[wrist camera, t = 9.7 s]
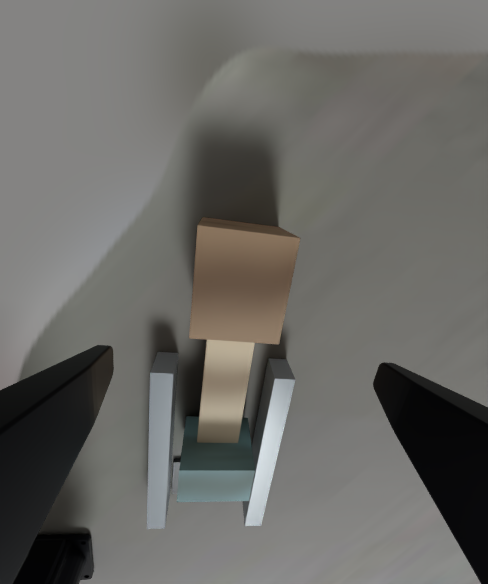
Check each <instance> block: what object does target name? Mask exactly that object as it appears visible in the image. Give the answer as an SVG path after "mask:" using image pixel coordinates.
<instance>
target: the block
mask: <svg viewBox="0 0 488 584" xmlns="http://www.w3.org/2000/svg"><path fill="white" fill-rule="evenodd" d="M299 242H300V238H299V237H297V236H295V235H293V234H291V233H289V232H287V231H286V230H284V229H282V228H280V227H275V226H268V225H260V224H252V223H245V222H237V221H229V220H221V219H214V218H206V217H202V219H201V221H200V222H199V224H198V227H197V240H196V254H195V267H194V280H193V294H192V307H191V321H190V334H189V338H192V339H207V340H221V341H236V342H251V343H265V344H279V341H280V336H281V331H282V326H283V322H284V317H285V312H286V307H287V302H288V297H289V292H290V287H291V282H292V277H293V272H294V267H295V262H296V257H297V252H298V247H299Z"/></svg>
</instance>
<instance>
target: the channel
mask: <svg viewBox="0 0 488 584" xmlns="http://www.w3.org/2000/svg"><path fill="white" fill-rule="evenodd" d="M177 366H178V353H170V352H158V353H157V355H156V358H155V361H154V364H153V366H152V369H151V372H150V404H149V453H148V501H147V529H157V528H165V524H166V518H167V511H168V505H169V498H170V483H171V466H172V449H173V433H174V416H175V400H176V383H177ZM294 383H295V378H294V375H293V373H292V371H291V368H290V366H289V364H288V361H287V359H271V358H268V363H267V368H266V374H265V379H264V384H263V389H262V395H261V400H260V405H259V411H258V416H257V421H256V426H255V432H254V437H253V442H252V452H253V459H254V466H255V474H254V478H253V483H252V488H251V493H250V498H249V501H243V512H244V524H245V526H261V523H262V519H263V515H264V511H265V506H266V502H267V498H268V494H269V489H270V485H271V481H272V477H273V472H274V468H275V464H276V460H277V455H278V451H279V447H280V443H281V438H282V434H283V430H284V426H285V421H286V417H287V413H288V409H289V405H290V400H291V396H292V392H293V388H294ZM180 460H181V459H174V466H173V481H172V494H177V493H178V479H179V468H180Z"/></svg>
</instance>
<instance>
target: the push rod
mask: <svg viewBox="0 0 488 584" xmlns="http://www.w3.org/2000/svg"><path fill="white" fill-rule="evenodd" d="M254 344H255V343H251V342H236V341H221V340H206V350H205V360H204V370H203V381H202V391H201V401H200V411H199V417H192V416H186V423H185V430H184V438H183V445H182V453H181V460H180V468H179V479H178V493H177V502H211V501H249V498H250V493H251V488H252V483H253V478H254V474H255V466H254V459H253V452H252V445H251V438H250V431H249V424H248V418H242V416H243V410H244V404H245V398H246V392H247V386H248V380H249V374H250V368H251V362H252V356H253V350H254Z"/></svg>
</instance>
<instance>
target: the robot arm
mask: <svg viewBox="0 0 488 584" xmlns="http://www.w3.org/2000/svg"><path fill="white" fill-rule="evenodd" d="M113 369H114V367H113V349H112V347H111V346H105V345H97V346H95V347H92V348H90V349H88V350H86V351H84V352H82V353H80V354H77V355H75V356H73V357H71V358H69V359H67V360H64V361H62V362H60V363H58V364H56V365H54V366H52V367H49V368H47V369H45V370H43V371H41V372H39V373H36V374H34V375H32V376H30V377H28V378H26V379H24V380H21V381H19V382H17V383H15V384H13V385H11V386H9V387H7V388H4V389H2V390H0V584H79V582H80V580H87V579H91V578H92V575H93V572H94V570H93V558H92V547H91V537H90V536H89V535H55V536H37V534H38V532H39V530H40V528H41V526H42V524H43V522H44V520H45V519H46V517H47V515H48V513H49V511H50V509H51V507H52V505H53V503H54V501H55V499H56V497H57V495H58V493H59V491H60V489H61V487H62V485H63V483H64V482H65V480H66V478H67V476H68V474H69V472H70V470H71V468H72V466H73V464H74V462H75V460H76V458H77V456H78V454H79V452H80V450H81V448H82V447H83V445H84V443H85V441H86V439H87V437H88V435H89V433H90V431H91V429H92V427H93V425H94V423H95V420H96V418H97V415H98V413H99V410H100V407H101V405H102V402H103V400H104V397H105V394H106V392H107V389H108V386H109V384H110V381H111V378H112V375H113ZM373 387H374V390H375V392H376V394H377V396H378V399H379V401H380V403H381V405H382V407H383V409H384V412H385V414H386V416H387V418H388V420H389V422H390V424H391V427H392V429H393V430H394V432H395V434H396V436H397V438H398V440H399V441H400V443H401V445H402V446H403V448H404V450H405V452H406V453H407V455H408V457H409V459H410V460H411V462H412V464H413V466H414V467H415V469H416V471H417V473H418V474H419V476H420V478H421V480H422V481H423V483H424V485H425V487H426V488H427V490H428V492H429V494H430V495H431V497H432V499H433V501H434V502H435V504H436V506H437V507H438V509H439V511H440V513H441V514H442V516H443V518H444V520H445V521H446V523H447V525H448V527H449V528H450V530H451V532H452V534H453V535H454V537H455V539H456V541H457V542H458V544H459V546H460V548H461V549H462V551H463V553H464V555H465V556H466V558H467V560H468V562H469V563H470V565H471V567H472V569H473V570H474V572H475V574H476V575H477V577H478V579H479V581H480V582H481V584H488V407H486V406H484V405H481V404H479V403H477V402H475V401H473V400H471V399H469V398H467V397H464V396H462V395H460V394H458V393H456V392H454V391H452V390H450V389H447V388H445V387H443V386H441V385H439V384H437V383H435V382H432V381H430V380H428V379H426V378H424V377H422V376H420V375H418V374H415V373H413V372H411V371H409V370H407V369H405V368H403V367H401V366H398V365H396V364H394V363H381V364H380V365H379V367H378V370H377V373H376V376H375V379H374V382H373Z"/></svg>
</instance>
